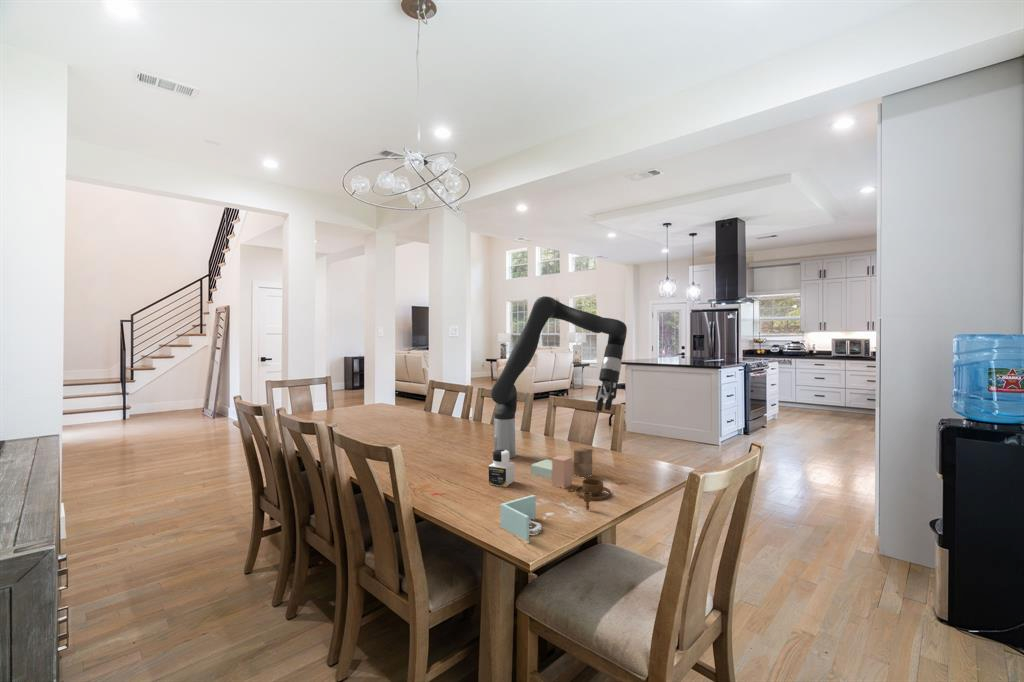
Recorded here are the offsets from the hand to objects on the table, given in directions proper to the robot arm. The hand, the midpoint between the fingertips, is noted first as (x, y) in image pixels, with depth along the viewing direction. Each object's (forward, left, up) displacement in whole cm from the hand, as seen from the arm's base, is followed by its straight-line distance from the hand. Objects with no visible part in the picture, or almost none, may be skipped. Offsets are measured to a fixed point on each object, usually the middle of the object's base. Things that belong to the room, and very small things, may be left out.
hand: (602, 410), depth 180 cm
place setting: (-10, -26, -25) cm, 38 cm away
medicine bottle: (-39, -10, -25) cm, 48 cm away
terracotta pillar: (-17, -13, -25) cm, 33 cm away
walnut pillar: (-8, -2, -25) cm, 26 cm away
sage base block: (-21, +1, -25) cm, 33 cm away
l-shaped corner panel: (-29, -50, -25) cm, 64 cm away
